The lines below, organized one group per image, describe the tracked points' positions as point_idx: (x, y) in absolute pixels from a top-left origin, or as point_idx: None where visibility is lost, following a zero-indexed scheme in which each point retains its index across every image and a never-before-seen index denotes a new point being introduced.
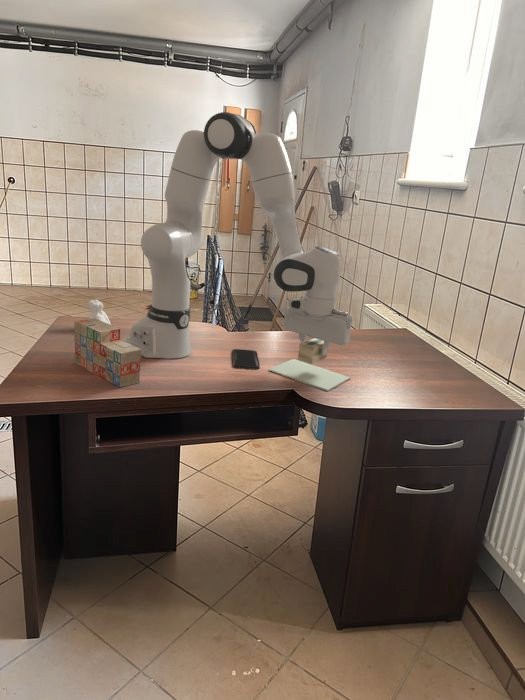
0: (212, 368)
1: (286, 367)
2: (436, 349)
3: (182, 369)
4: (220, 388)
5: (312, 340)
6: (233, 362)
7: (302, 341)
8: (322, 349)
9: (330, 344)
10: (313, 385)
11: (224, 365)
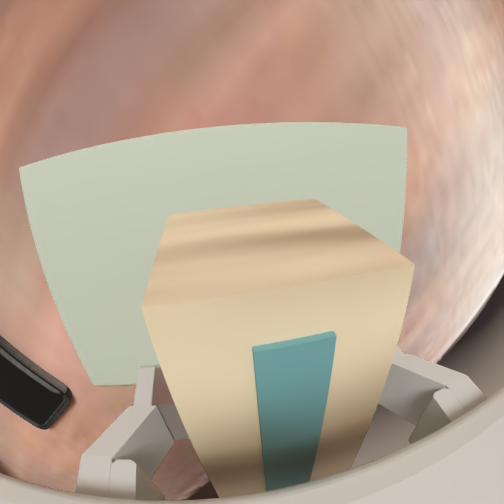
0: (45, 451)
1: (103, 314)
2: None
3: (46, 475)
4: (165, 493)
5: (223, 426)
6: (19, 415)
7: (161, 462)
8: (380, 399)
9: (459, 381)
10: None
11: (27, 426)
